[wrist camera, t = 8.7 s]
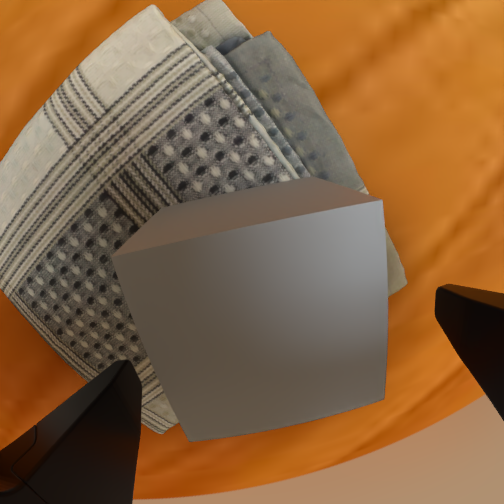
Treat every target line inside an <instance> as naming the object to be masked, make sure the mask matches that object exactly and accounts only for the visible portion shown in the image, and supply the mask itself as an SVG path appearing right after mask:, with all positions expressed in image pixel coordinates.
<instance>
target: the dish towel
mask: <svg viewBox="0 0 504 504" xmlns="http://www.w3.org/2000/svg"><path fill="white" fill-rule="evenodd" d="M312 176H314V177H317V178H320V179H323V180H326V181H329V182H332V183H335V184H338V185H341V186H344V187H347V188H350V189H353V190H356V191H359V192H362V193H365V194H368V195H369V193H368V191H367V189H366V187H365V185H364V183H363V181H362V179H361V178H360V176H359V175H358V173H357V170H356V168H355V165H354V163H353V161H352V159H351V157H350V155H349V153H348V152H347V150H346V148H345V145H344V143H343V141H342V139H341V137H340V135H339V134H338V132H337V131H336V129H335V127H334V126H333V124H332V123H331V121H330V120H329V118H328V117H327V115H326V113H325V111H324V109H323V107H322V106H321V104H320V102H319V100H318V98H317V97H316V95H315V93H314V91H313V89H312V88H311V86H310V85H309V83H308V82H307V80H306V78H305V77H304V75H303V74H302V72H301V71H300V69H299V68H298V66H297V65H296V63H295V61H294V59H293V57H292V56H291V55H290V54H289V53H288V52H287V51H286V49H285V48H284V47H283V46H282V44H281V43H280V42H279V41H277V40H276V39H275V38H274V36H273V35H272V33H271V32H269V31H266V32H265V33H263V34H261V35H259V36H256V37H253V36H252V35H251V34H250V33H249V32H248V30H247V29H246V28H245V26H244V25H243V24H242V23H241V22H240V21H239V20H238V19H237V18H236V17H235V16H234V15H233V13H232V12H231V11H230V9H229V8H228V7H227V5H226V4H225V3H224V2H223V1H222V0H206V1H204V2H202V3H200V4H198V5H197V6H195V7H194V8H193V9H191V10H189V11H187V12H185V13H183V14H182V15H181V16H180V17H178V18H177V19H175V20H173V21H171V22H169V21H168V20H167V19H166V18H165V17H164V15H163V13H162V12H161V11H160V10H159V8H158V7H156V6H155V5H150V6H148V7H147V8H146V9H144V10H143V11H141V12H139V13H138V14H137V15H135V16H134V17H133V18H131V19H130V20H128V21H127V22H126V23H125V24H124V25H123V26H121V27H120V28H119V29H118V30H117V31H115V32H114V33H113V34H112V35H111V36H110V37H109V38H108V39H106V40H105V41H104V42H102V43H101V44H100V45H99V46H98V47H97V48H96V49H95V50H94V51H93V52H92V53H91V54H90V55H89V56H87V57H86V58H85V59H84V60H83V61H82V62H81V63H80V64H79V65H78V66H77V67H76V69H75V70H74V71H73V72H72V73H71V74H70V75H69V76H68V78H67V79H66V80H65V81H64V82H63V83H62V84H61V85H60V86H59V88H58V89H57V90H56V91H55V92H54V93H53V94H52V95H51V97H50V98H49V99H48V100H47V101H46V102H45V104H44V105H43V106H42V107H41V108H40V109H39V110H38V112H37V113H36V114H35V115H34V116H33V118H32V119H31V120H30V121H29V122H28V123H27V125H26V126H25V127H24V129H23V130H22V131H21V133H20V134H19V136H18V137H17V138H16V140H15V141H14V143H13V145H12V146H11V147H10V149H9V151H8V153H7V154H6V155H5V157H4V158H3V160H2V161H1V162H0V288H1V290H2V291H3V292H4V293H5V295H6V296H7V297H8V298H9V300H10V301H11V302H12V303H13V305H14V306H15V307H16V308H17V309H18V311H19V312H20V313H21V314H22V315H23V316H24V317H25V319H26V320H27V321H28V322H29V323H30V324H31V325H32V326H33V328H34V329H35V330H36V331H37V332H38V333H39V334H40V336H41V337H42V338H43V339H44V340H45V341H46V342H47V343H48V344H49V345H50V347H51V348H52V349H53V350H54V351H55V352H56V353H57V354H58V355H59V356H60V357H61V358H62V359H63V360H64V361H65V362H66V363H67V364H68V365H69V366H71V367H72V368H73V369H74V370H75V371H76V372H77V373H78V374H79V375H80V376H82V377H83V378H84V379H85V380H86V381H87V382H90V381H91V380H92V379H93V378H95V377H96V376H97V375H98V374H100V373H101V372H102V371H104V370H105V369H106V368H107V367H109V366H110V365H111V364H112V363H114V362H115V361H117V360H124V359H128V360H130V361H131V362H132V364H133V366H134V368H135V370H136V372H137V374H138V376H139V378H140V380H141V383H142V411H141V423H142V424H144V425H146V426H147V427H149V428H150V429H151V430H153V431H155V432H157V433H159V434H163V433H164V432H166V431H167V430H168V429H169V428H171V427H173V426H174V425H176V424H177V423H179V421H178V419H177V417H176V415H175V413H174V411H173V409H172V407H171V405H170V403H169V401H168V399H167V397H166V395H165V393H164V391H163V389H162V386H161V384H160V382H159V380H158V378H157V376H156V373H155V371H154V369H153V367H152V364H151V362H150V360H149V357H148V355H147V353H146V350H145V348H144V346H143V343H142V341H141V338H140V336H139V333H138V331H137V328H136V326H135V323H134V321H133V318H132V316H131V313H130V310H129V308H128V305H127V302H126V299H125V297H124V294H123V291H122V288H121V285H120V283H119V280H118V277H117V274H116V271H115V268H114V265H113V262H112V259H111V256H112V255H113V254H114V253H115V252H116V251H117V250H118V249H119V248H120V247H121V246H122V245H123V244H124V243H125V242H126V241H127V240H128V239H129V238H131V237H132V236H133V235H134V234H135V233H136V232H137V231H138V230H139V229H140V228H141V227H142V226H143V225H144V224H145V223H146V222H147V221H148V220H149V219H150V218H151V217H152V216H153V215H154V214H156V213H157V212H158V211H159V210H160V209H161V208H164V207H168V206H172V205H176V204H180V203H184V202H189V201H193V200H197V199H202V198H206V197H211V196H215V195H220V194H225V193H229V192H234V191H239V190H243V189H248V188H253V187H258V186H263V185H268V184H274V183H279V182H284V181H289V180H295V179H300V178H306V177H312ZM385 236H386V253H387V278H388V297H389V296H390V295H392V294H394V293H396V292H397V291H399V290H400V289H401V288H403V287H404V286H405V285H406V284H407V280H406V277H405V273H404V268H403V265H402V263H401V261H400V258H399V255H398V253H397V251H396V249H395V247H394V245H393V242H392V241H391V239H390V237H389V235H388V232H387V229H386V228H385Z"/></svg>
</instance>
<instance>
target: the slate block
mask: <svg viewBox="0 0 504 504" xmlns="http://www.w3.org/2000/svg"><path fill="white" fill-rule="evenodd" d="M111 259H112V262H113V265H114V268H115V271H116V274H117V277H118V280H119V283H120V285H121V288H122V291H123V294H124V297H125V299H126V302H127V305H128V308H129V310H130V313H131V316H132V318H133V321H134V323H135V326H136V328H137V331H138V333H139V336H140V338H141V341H142V343H143V346H144V348H145V350H146V353H147V355H148V357H149V360H150V362H151V364H152V367H153V369H154V371H155V373H156V376H157V378H158V380H159V382H160V384H161V386H162V389H163V391H164V393H165V395H166V397H167V399H168V401H169V403H170V405H171V407H172V409H173V411H174V413H175V415H176V417H177V419H178V421H179V423H180V425H181V427H182V429H183V431H184V433H185V435H186V436H187V438H188V440H189V442H193V441H203V440H211V439H219V438H226V437H233V436H239V435H246V434H251V433H257V432H263V431H268V430H273V429H278V428H283V427H287V426H292V425H296V424H301V423H305V422H309V421H313V420H317V419H321V418H325V417H328V416H332V415H336V414H339V413H343V412H346V411H349V410H353V409H356V408H359V407H362V406H366V405H369V404H372V403H375V402H378V401H381V400H383V399H384V396H385V383H386V366H387V342H388V278H387V253H386V236H385V223H384V211H383V201H382V199H379V198H376V197H373V196H370V195H368V194H365V193H362V192H359V191H356V190H353V189H350V188H347V187H344V186H341V185H338V184H335V183H332V182H329V181H326V180H323V179H320V178H317V177H314V176H312V177H306V178H300V179H295V180H289V181H284V182H279V183H274V184H268V185H263V186H258V187H253V188H248V189H243V190H239V191H234V192H229V193H225V194H220V195H215V196H211V197H206V198H202V199H197V200H193V201H189V202H184V203H180V204H176V205H172V206H168V207H164V208H161V209H160V210H159V211H158V212H157V213H156V214H154V215H153V216H152V217H151V218H150V219H149V220H148V221H147V222H146V223H145V224H144V225H143V226H142V227H141V228H140V229H139V230H138V231H137V232H136V233H135V234H134V235H133V236H132V237H131V238H129V239H128V240H127V241H126V242H125V243H124V244H123V245H122V246H121V247H120V248H119V249H118V250H117V251H116V252H115V253H114V254H113V255H112V256H111Z"/></svg>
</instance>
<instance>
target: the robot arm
mask: <svg viewBox="0 0 504 504" xmlns="http://www.w3.org/2000/svg"><path fill="white" fill-rule="evenodd" d="M435 317H436V319H437V321H438V323H439V324H440V326H441V328H442V329H443V331H444V332H445V334H446V336H447V337H448V339H449V341H450V342H451V344H452V346H453V348H454V349H455V351H456V352H457V354H458V356H459V357H460V358H461V360H462V361H463V363H464V364H465V365H466V367H467V368H468V369H469V371H470V372H471V374H472V375H473V376H474V378H475V379H476V381H477V382H478V383H479V385H480V386H481V388H482V389H483V391H484V392H485V394H486V395H487V396H488V398H489V399H490V401H491V402H492V404H493V405H494V407H495V408H496V410H497V411H498V413H499V415H500V416H501V417H502V419H503V421H504V294H503V293H498V292H492V291H487V290H481V289H475V288H470V287H464V286H459V285H453V284H446V285H443V286H440V287H438V288H437V290H436V298H435ZM141 411H142V383H141V380H140V378H139V376H138V374H137V372H136V370H135V368H134V366H133V364H132V362H131V361H130V360H128V359H124V360H117V361H115V362H114V363H112V364H111V365H110V366H109V367H107V368H106V369H105V370H104V371H102V372H101V373H100V374H98V375H97V376H96V377H95V378H93V379H92V380H91V381H90V382H88V383H87V384H86V385H85V386H83V387H82V388H81V389H80V390H78V391H77V392H76V393H75V394H73V395H72V396H71V397H70V398H68V399H67V400H66V401H65V402H63V403H62V404H61V405H60V406H58V407H57V408H56V409H54V410H53V411H52V412H51V413H49V414H48V415H47V416H46V417H44V418H43V419H42V420H41V421H39V422H38V423H37V426H36V425H34V426H33V427H32V428H30V429H29V430H28V431H27V432H25V433H24V434H23V435H21V436H20V437H19V438H18V439H16V440H15V441H14V442H12V443H11V444H9V445H8V446H6V447H5V448H3V449H2V450H1V451H0V504H132V500H133V490H134V481H135V473H136V464H137V457H138V449H139V442H140V434H141Z"/></svg>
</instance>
